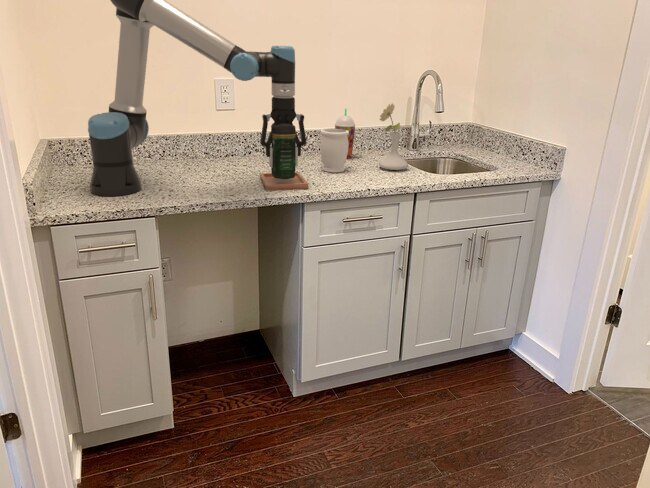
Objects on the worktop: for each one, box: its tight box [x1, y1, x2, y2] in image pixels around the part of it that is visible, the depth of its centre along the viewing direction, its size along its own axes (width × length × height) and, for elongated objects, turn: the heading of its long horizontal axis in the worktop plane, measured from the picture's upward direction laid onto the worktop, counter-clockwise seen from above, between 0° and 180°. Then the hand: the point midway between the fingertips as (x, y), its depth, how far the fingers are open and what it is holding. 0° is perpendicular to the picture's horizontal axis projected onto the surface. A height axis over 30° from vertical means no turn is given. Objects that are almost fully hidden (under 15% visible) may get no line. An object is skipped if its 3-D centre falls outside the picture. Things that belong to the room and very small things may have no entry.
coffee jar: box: [270, 122, 297, 179], centre depth 179 cm, size 10×8×19 cm
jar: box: [319, 128, 349, 174], centre depth 200 cm, size 11×10×15 cm
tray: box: [259, 171, 309, 192], centre depth 183 cm, size 14×16×2 cm
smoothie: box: [334, 108, 356, 160], centre depth 220 cm, size 8×8×20 cm
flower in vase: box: [378, 102, 409, 171], centre depth 202 cm, size 13×11×25 cm
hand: (283, 165), depth 181 cm, fingers closed on coffee jar, 8 cm apart
